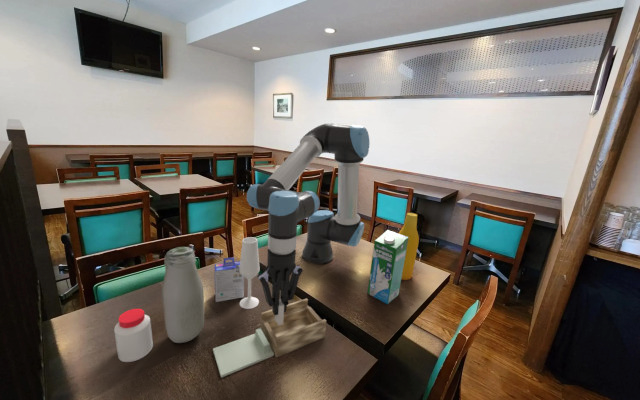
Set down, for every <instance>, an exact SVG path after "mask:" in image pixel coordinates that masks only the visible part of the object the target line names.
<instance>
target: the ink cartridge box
mask: <svg viewBox="0 0 640 400" xmlns="http://www.w3.org/2000/svg"><path fill="white" fill-rule="evenodd" d="M239 269H240V260H239V261H235V257H233V256H232V257H224V258H223V263H217V264H216V263H215V264H214V291H215V292H214V293H215V295H214V296H215V303H219V302H224V301H229V300H235V299H241V298H242V299H243V298H245V295H244V293H245V285H244V284H245V277H243V276H242V275H241V274H240V271H239Z"/></svg>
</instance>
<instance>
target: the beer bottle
mask: <svg viewBox="0 0 640 400" xmlns="http://www.w3.org/2000/svg"><path fill="white" fill-rule="evenodd" d="M417 224H418V214H417V213H413V212H407V213H406V216H405V220H404V224H403V226H402V227H401V229H400V230H399V232H398V234H401V235H404V236H407V237H409V238H408V244H407V250H406V255H405V261H404V267H403V272H402V278H401V280H404V281H405V280H406V281H407V280H410V279H412V277H413V276H414V275H413V274H414V267H415V263H416V258H417V251H418V247H419V242H420V241H419V240H420V237H419V234H418V230H417Z"/></svg>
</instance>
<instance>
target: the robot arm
mask: <svg viewBox="0 0 640 400" xmlns="http://www.w3.org/2000/svg"><path fill="white" fill-rule="evenodd" d="M369 151H370V136H369V132H368V129H367V128H365V126H363V125H356V124H347V123H332V122H331V123H324V124H320V125H317V126H315V127H314V128H313V129H311V130H309V131H308V132H307V133H306V134H305V135H303V137H302V138H301V139H300V140H299V145H298V146H297V147H296V148H295V149H294V150H293V151H292V152H291V153H290V154H289V156H288V157H286V159H285V160H284V161H283V162H282V163H281V164H280V165H279V166H278V167H277V168H276V170H274V172H273V173H272V174H271V175H270V176H269V177H268V178H267V180H266V181H265V182H263V183H262V184H260V183H257V184H256V183H255V184H252V185H250V187H249V188H248V190H247V192H246V200H247V203H248V204H249V206H250V207H252V208H255V209H259V210H261V211H262V210H263V211H266V212H267V211H268V229H267V230H268V232H267V248H268V249H267V260H266V261H267V266H266V268H265V270H264V272H263V273H258V274H257V275H256V276H257V279H258V280H259V282H260V283H261V286H262V290H263V294H264V297H265V298H264V299H265V301H266V303H267V304H268V306H269V307H272V312H273V313H274V315H275V321H276V323H277V324H278V326H279V325H282V324H283V318H284V312H286V308H287V305H288V304H290V302H289V301H293V299H294V297H295V293H296V290H297V286H298V283H299V280H300V276H301V275H302V274H303V271H304V270H303V268H302V267H301V266H300V265H299V264H296V249H297V233H298V232H297V231H298V223H300V222H301V221H303V220H305V219H307V218H308V220H307V231H306V232H307V235H306V242H305V245H304V248H303V250H302V252H301V253H302V254H301V257H302V258H303V259H304V260H305V261H307V262H309V263H313V264H326V263H329V262H331V261H332V260H333V258H334V253H333V247H332V244H331V242H335V243H338V244H342V245H345V246H350V247H357V246H358V245H359V243H360V242H361V239H362V236H363V233H364V230H365V223H364V222H363V221H361V216H360V214H358V203H359V202H358V200H359V180H360V164H361V163H362V162H363V161H364V158H366V157H367V156H368V154H369ZM326 153H327V154H333V155H334V162H336V163H337V166H338V167H337V169H338V170H337V213H336V214H335V215H334V212H333V211H331V210H327V209H325V210H324V209H323V210H322V209H321V210H319V209H320V204H321V203H320V198H319V195H317V193H315V192H314V191H312V190H303V191H301V192H298V191H293V190H290V189H291V188H292V187H293V185H294V184H295V183H296V182H297V180H299V178H300V177H301V175H302V174H303V173H304V172H305V170H307V168H308V167H309V165H310V164H311V163H313V160H314V159H315V158H319V157H320V156H321V154H326ZM269 277H270V278H271V281H272V286H271V287H272V289H271V290H272V291H271V290H270V284H269V283H268V282H269Z"/></svg>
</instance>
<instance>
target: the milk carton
mask: <svg viewBox="0 0 640 400" xmlns="http://www.w3.org/2000/svg"><path fill="white" fill-rule="evenodd" d="M398 233H399V232H398ZM398 233H397V232H395V231H391V230H389V229H386V230H385V231H384V232H383V233H382V234H381V235H380V236H379V237H377V238H376V239H375V240H374V245H373V249H372V257H371V265H370V272H369V278H368V287H367V295H369V296H372V297H373V298H375V299H377V300H379V301H381V302H382V303H384V304H385V305H389V304H390V303H391V302H392V301H394V299H396V298H397V297H398V296H399V293H400V288H401V283H402V282H401V281H402V279H401V278H402V272H403V267H404V261H405V255H406V250H407V244H408V238H409V237H407V236H404V235H401V234H398Z"/></svg>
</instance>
